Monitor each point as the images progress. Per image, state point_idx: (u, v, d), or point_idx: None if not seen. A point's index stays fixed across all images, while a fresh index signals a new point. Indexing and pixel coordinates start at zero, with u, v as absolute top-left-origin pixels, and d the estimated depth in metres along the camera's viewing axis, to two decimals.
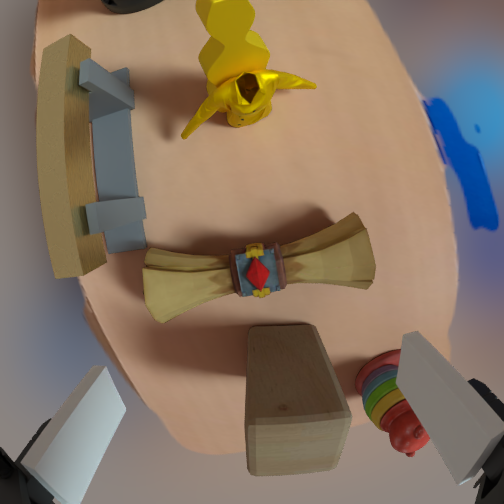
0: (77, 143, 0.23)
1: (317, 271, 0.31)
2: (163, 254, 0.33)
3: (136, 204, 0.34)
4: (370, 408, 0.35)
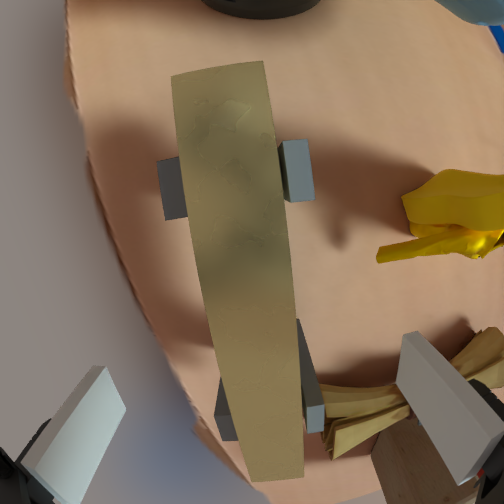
0: None
1: None
2: (341, 400, 0.26)
3: None
4: None
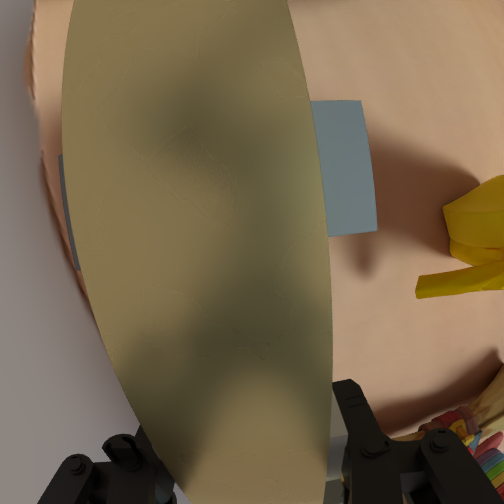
0: None
1: (498, 429, 0.16)
2: None
3: None
4: None
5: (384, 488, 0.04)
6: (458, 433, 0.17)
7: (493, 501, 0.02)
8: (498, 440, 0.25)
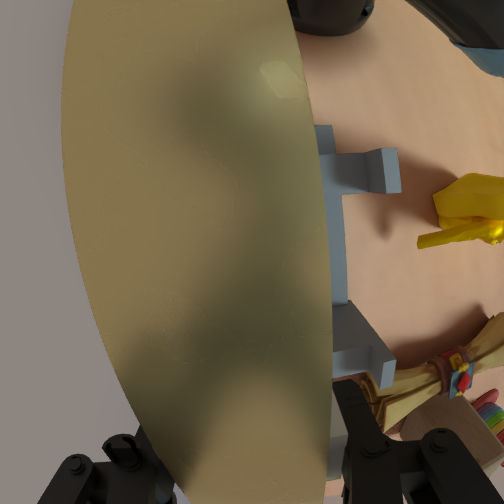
0: None
1: (489, 365, 0.27)
2: None
3: None
4: None
5: (384, 488, 0.04)
6: (456, 363, 0.27)
7: (493, 500, 0.02)
8: (494, 395, 0.36)
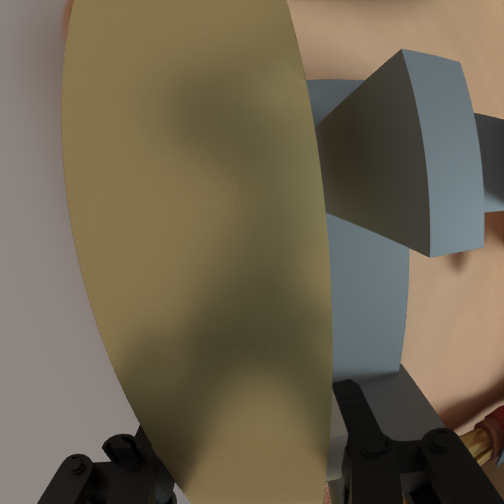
0: None
1: None
2: None
3: None
4: None
5: (385, 488, 0.04)
6: None
7: (493, 501, 0.02)
8: None
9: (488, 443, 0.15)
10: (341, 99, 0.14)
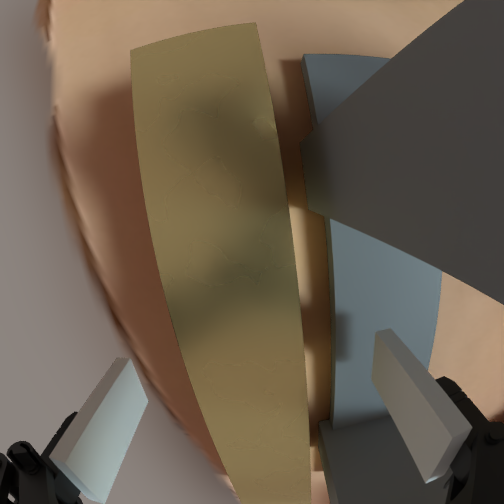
0: None
1: None
2: None
3: None
4: None
5: (499, 473, 0.03)
6: None
7: None
8: None
9: None
10: (363, 79, 0.10)
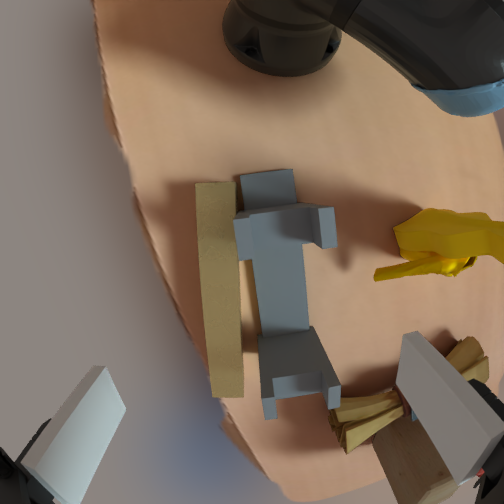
0: None
1: None
2: (348, 408, 0.33)
3: None
4: None
5: None
6: None
7: None
8: None
9: (398, 400, 0.32)
10: (263, 183, 0.31)
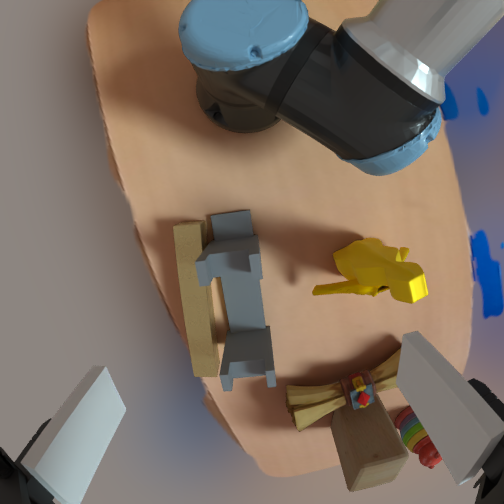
0: (210, 304, 0.45)
1: (393, 385, 0.43)
2: (298, 394, 0.45)
3: None
4: (407, 440, 0.46)
5: None
6: (357, 384, 0.44)
7: None
8: None
9: (341, 391, 0.45)
10: (228, 221, 0.43)
